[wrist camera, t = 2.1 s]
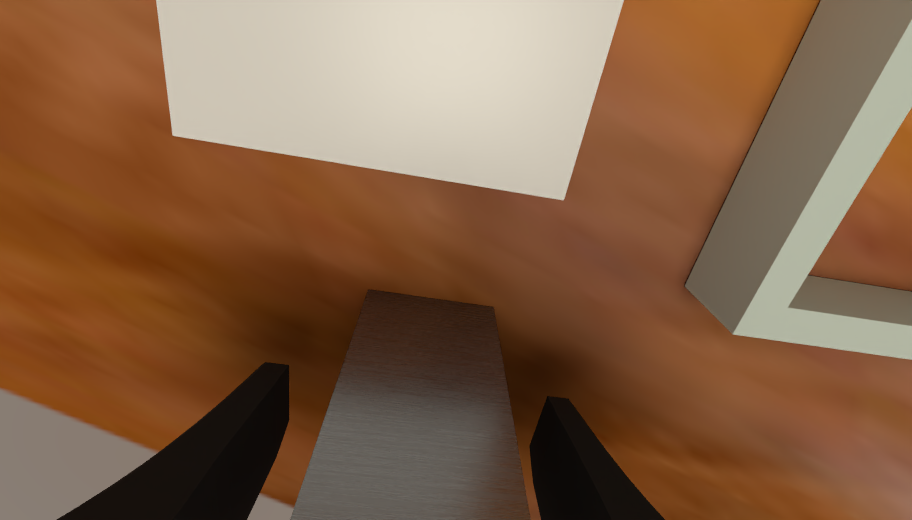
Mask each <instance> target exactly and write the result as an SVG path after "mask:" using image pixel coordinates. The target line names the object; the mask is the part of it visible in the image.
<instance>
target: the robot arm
mask: <svg viewBox="0 0 912 520" xmlns="http://www.w3.org/2000/svg"><path fill="white" fill-rule="evenodd" d="M288 422H289V365H284V364H276V363H267V362H265V363H264V364H262V365H261V366H260V367H259V368H258V369H257V370H256V371H255V372H254V373H253V374H251V375H250V376H249V377H248V378H247V379H246V380H245V381H244V382H243V383H242V384H241V385H240V386H238V387H237V388H236V389H235V390H234V391H233V392H232V393H231V394H230V395H228V396H227V397H226V398H225V399H224V400H223V401H222V402H220V403H219V404H218V405H217V406H216V407H215V408H213V409H212V410H211V411H210V412H209V413H208V414H206V415H205V416H204V417H203V418H202V419H200V420H199V421H198V422H197V423H196V424H194V425H193V426H192V427H191V428H189V429H188V430H187V431H186V432H184V433H183V434H182V435H180V436H179V437H178V438H177V439H175V440H174V441H173V442H172V443H170V444H169V445H168V446H166V447H165V448H164V449H163V450H161V451H160V452H158V453H157V454H156V455H154V456H153V457H152V458H150V459H149V460H148V461H146V462H145V463H143V464H142V465H141V466H139V467H138V468H136V469H135V470H133V471H132V472H131V473H129V474H128V475H126V476H125V477H123V478H122V479H120V480H119V481H118V482H116V483H115V484H113V485H111V486H110V487H108V488H107V489H105V490H103V491H102V492H101V493H99V494H97V495H96V496H94V497H93V498H91V499H89V500H88V501H86V502H85V503H83V504H82V505H80V506H79V507H77V508H75V509H74V510H72V511H71V512H69V513H67V514H65V515H64V516H62V517H60V518H59V519H57V520H247V518H248V516H249V514H250V512H251V510H252V508H253V506H254V504H255V501H256V499H257V497H258V495H259V493H260V491H261V489H262V487H263V485H264V482H265V480H266V478H267V476H268V474H269V472H270V470H271V468H272V465H273V463H274V461H275V459H276V457H277V454H278V451H279V448H280V445H281V442H282V440H283V437H284V434H285V431H286V428H287V425H288ZM530 457H531V467H532V476H533V484H534V489H535V493H536V498H537V503H538V507H539V512H540V516H541V520H665V519H664V518H663V517H662V516H661V515H660V514H659V513H658V512H657V511H656V509H655V508H654V507H653V506H652V505H651V504H650V503H649V502H648V501H647V499H646V498H645V497H644V496H643V495H642V494H641V492H640V491H639V490H638V489H637V488H636V487H635V485H634V484H633V483H632V482H631V481H630V480H629V478H628V477H627V476H626V475H625V473H624V472H623V471H622V470H621V468H620V467H619V466H618V465H617V463H616V462H615V461H614V460H613V458H612V457H611V456H610V454H609V453H608V452H607V451H606V449H605V448H604V447H603V445H602V444H601V443H600V441H599V440H598V439H597V437H596V436H595V435H594V433H593V432H592V431H591V429H590V428H589V426H588V425H587V424H586V422H585V421H584V420H583V418H582V417H581V415H580V414H579V413H578V411H577V410H576V409H575V407H574V406H573V405H572V403H571V402H570V401H569V399H567V398H558V397H550V396H547V399H546V402H545V404H544V407H543V410H542V413H541V415H540V418H539V421H538V424H537V427H536V429H535V432H534V435H533V438H532V440H531V443H530Z"/></svg>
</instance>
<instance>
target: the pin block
mask: <svg viewBox="0 0 912 520" xmlns="http://www.w3.org/2000/svg"><path fill="white" fill-rule="evenodd" d="M290 520H531V519H530V514H529V508H528V502H527V496H526V491H525V485H524V479H523V473H522V468H521V462H520V456H519V450H518V445H517V439H516V433H515V427H514V422H513V416H512V410H511V404H510V399H509V393H508V387H507V382H506V376H505V370H504V364H503V359H502V353H501V347H500V341H499V336H498V330H497V324H496V318H495V313H494V307H490V306H483V305H476V304H469V303H462V302H455V301H447V300H440V299H433V298H426V297H419V296H412V295H404V294H397V293H390V292H383V291H376V290H369V289H368V292H367V295H366V298H365V301H364V303H363V306H362V309H361V312H360V315H359V318H358V321H357V324H356V327H355V330H354V333H353V336H352V339H351V342H350V345H349V348H348V351H347V354H346V357H345V360H344V362H343V365H342V368H341V371H340V374H339V377H338V380H337V383H336V386H335V389H334V392H333V395H332V398H331V401H330V404H329V407H328V410H327V413H326V416H325V419H324V422H323V424H322V427H321V430H320V433H319V436H318V439H317V442H316V445H315V448H314V451H313V454H312V457H311V460H310V463H309V466H308V469H307V472H306V475H305V478H304V481H303V484H302V486H301V489H300V492H299V495H298V498H297V501H296V504H295V507H294V510H293V513H292V516H291V519H290Z"/></svg>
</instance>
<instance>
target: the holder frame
mask: <svg viewBox="0 0 912 520" xmlns="http://www.w3.org/2000/svg"><path fill="white" fill-rule="evenodd" d="M911 107H912V0H821V1H820V3H819V5H818V7H817V10H816V12H815V14H814V16H813V18H812V20H811V22H810V24H809V26H808V28H807V31H806V33H805V35H804V37H803V39H802V41H801V43H800V45H799V47H798V49H797V51H796V54H795V56H794V58H793V60H792V62H791V64H790V66H789V68H788V70H787V72H786V75H785V77H784V79H783V81H782V83H781V85H780V87H779V89H778V91H777V93H776V95H775V98H774V100H773V102H772V104H771V106H770V108H769V110H768V112H767V114H766V116H765V119H764V121H763V123H762V125H761V127H760V129H759V131H758V133H757V135H756V137H755V139H754V142H753V144H752V146H751V148H750V150H749V152H748V154H747V156H746V158H745V160H744V163H743V165H742V167H741V169H740V171H739V173H738V175H737V177H736V179H735V181H734V183H733V186H732V188H731V190H730V192H729V194H728V196H727V198H726V200H725V202H724V204H723V207H722V209H721V211H720V213H719V215H718V217H717V219H716V221H715V223H714V225H713V227H712V230H711V232H710V234H709V236H708V238H707V240H706V242H705V244H704V246H703V248H702V251H701V253H700V255H699V257H698V259H697V261H696V263H695V265H694V267H693V269H692V271H691V274H690V276H689V278H688V280H687V282H686V284H685V287H686V288H687V289H688V290H689V291H690V292H691V293H692V294H693V295H694V296H695V297H696V298H697V299H698V300H699V301H700V302H701V303H702V304H703V305H704V306H705V307H706V308H707V309H708V310H709V311H710V312H711V313H712V314H713V315H714V316H715V317H716V318H717V319H718V320H719V321H720V322H721V323H722V324H723V325H724V326H725V327H726V328H727V329H728V330H729V331H730V332H731V333H732V334H734V335H741V336H748V337H755V338H762V339H770V340H777V341H784V342H791V343H798V344H805V345H812V346H819V347H826V348H833V349H840V350H847V351H855V352H862V353H869V354H876V355H883V356H890V357H897V358H904V359H911V360H912V292H911V291H904V290H898V289H892V288H885V287H879V286H873V285H866V284H860V283H854V282H847V281H841V280H835V279H828V278H822V277H816V276H809V275H808V274H809V272H810V271H811V269H812V267H813V266H814V264H815V262H816V261H817V259H818V258H819V256H820V254H821V253H822V251H823V250H824V248H825V246H826V245H827V243H828V241H829V240H830V238H831V237H832V235H833V233H834V232H835V230H836V229H837V227H838V225H839V224H840V222H841V220H842V219H843V217H844V216H845V214H846V212H847V211H848V209H849V208H850V206H851V204H852V203H853V201H854V199H855V198H856V196H857V195H858V193H859V191H860V190H861V188H862V186H863V185H864V183H865V182H866V180H867V178H868V177H869V175H870V174H871V172H872V170H873V169H874V167H875V165H876V164H877V162H878V161H879V159H880V157H881V156H882V154H883V153H884V151H885V149H886V148H887V146H888V144H889V143H890V141H891V140H892V138H893V136H894V135H895V133H896V132H897V130H898V128H899V127H900V125H901V123H902V122H903V120H904V119H905V117H906V115H907V114H908V112H909V111H910V109H911Z"/></svg>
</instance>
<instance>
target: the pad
mask: <svg viewBox="0 0 912 520" xmlns="http://www.w3.org/2000/svg"><path fill="white" fill-rule="evenodd" d="M623 1H624V0H156V2H157V11H158V19H159V27H160V35H161V43H162V52H163V60H164V68H165V76H166V84H167V93H168V101H169V109H170V117H171V126H172V134H173V136H178V137H184V138H190V139H196V140H202V141H208V142H214V143H220V144H227V145H233V146H239V147H245V148H251V149H257V150H263V151H269V152H275V153H281V154H287V155H293V156H299V157H305V158H311V159H317V160H323V161H329V162H335V163H341V164H347V165H353V166H359V167H365V168H371V169H378V170H384V171H390V172H396V173H402V174H408V175H414V176H420V177H426V178H432V179H438V180H444V181H450V182H456V183H462V184H468V185H474V186H480V187H486V188H492V189H498V190H504V191H510V192H516V193H522V194H528V195H535V196H541V197H547V198H553V199H559V200H564V198H565V195H566V191H567V188H568V185H569V181H570V178H571V175H572V171H573V168H574V165H575V161H576V158H577V155H578V151H579V148H580V145H581V141H582V138H583V135H584V131H585V128H586V125H587V121H588V118H589V115H590V111H591V108H592V104H593V101H594V98H595V94H596V91H597V88H598V84H599V81H600V78H601V74H602V71H603V68H604V64H605V61H606V58H607V54H608V51H609V48H610V44H611V41H612V38H613V34H614V31H615V28H616V24H617V21H618V18H619V14H620V11H621V8H622V4H623Z"/></svg>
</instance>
